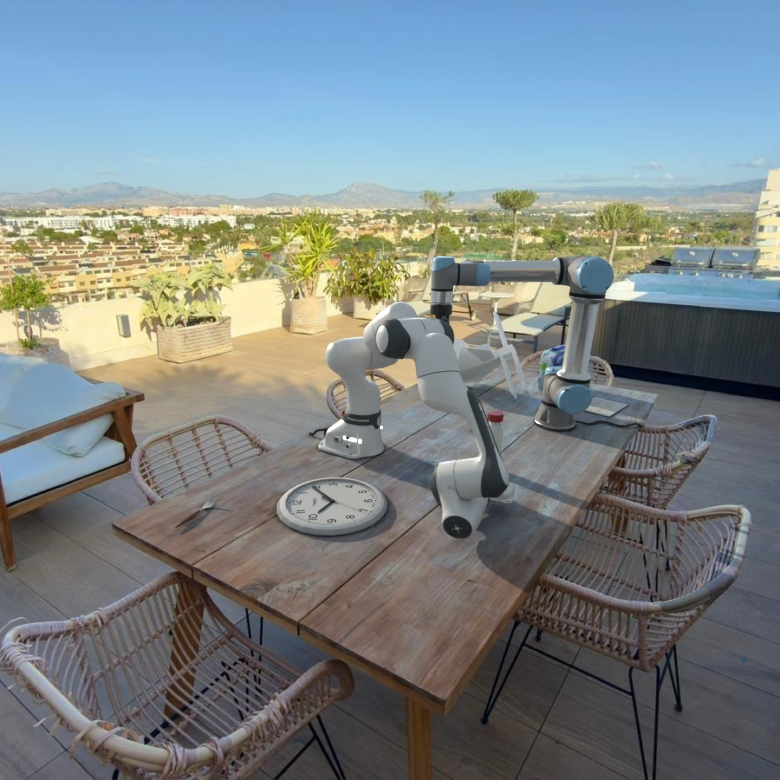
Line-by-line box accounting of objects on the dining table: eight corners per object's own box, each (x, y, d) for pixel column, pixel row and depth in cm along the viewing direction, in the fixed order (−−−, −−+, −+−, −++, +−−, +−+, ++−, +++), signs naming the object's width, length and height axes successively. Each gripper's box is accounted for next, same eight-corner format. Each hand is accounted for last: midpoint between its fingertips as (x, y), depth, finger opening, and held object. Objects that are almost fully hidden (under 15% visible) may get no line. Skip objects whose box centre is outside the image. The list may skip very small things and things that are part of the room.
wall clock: (392, 527, 129) (268, 531, 127) (391, 533, 130) (269, 537, 127) (383, 473, 158) (282, 475, 155) (383, 478, 158) (282, 480, 156)
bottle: (480, 466, 167) (484, 411, 162) (496, 466, 168) (501, 410, 163) (485, 474, 162) (490, 417, 157) (502, 473, 163) (507, 416, 158)
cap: (485, 417, 162) (486, 410, 161) (500, 417, 163) (500, 410, 162) (490, 423, 158) (490, 415, 157) (505, 422, 158) (505, 415, 158)
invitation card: (608, 416, 214) (573, 407, 224) (608, 416, 214) (573, 408, 224) (628, 404, 229) (594, 396, 238) (628, 405, 229) (594, 397, 238)
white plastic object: (461, 429, 252) (437, 405, 227) (444, 352, 274) (420, 323, 250) (535, 404, 240) (518, 377, 215) (510, 326, 262) (492, 293, 237)
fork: (171, 528, 130) (170, 521, 130) (212, 499, 145) (211, 492, 144) (179, 530, 129) (178, 523, 129) (220, 500, 144) (219, 494, 143)
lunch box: (554, 397, 237) (559, 352, 231) (533, 392, 244) (538, 348, 238) (581, 386, 255) (586, 344, 248) (560, 381, 262) (565, 340, 256)
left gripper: (512, 494, 132) (519, 471, 144) (434, 479, 139) (447, 458, 151) (510, 515, 134) (517, 491, 146) (433, 500, 141) (446, 478, 153)
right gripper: (441, 298, 191) (438, 354, 197) (419, 307, 169) (417, 370, 175) (461, 299, 188) (458, 356, 195) (441, 308, 166) (439, 373, 173)
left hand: (481, 474), depth 149 cm, fingers open, 8 cm apart
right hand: (438, 363), depth 185 cm, fingers open, 13 cm apart
